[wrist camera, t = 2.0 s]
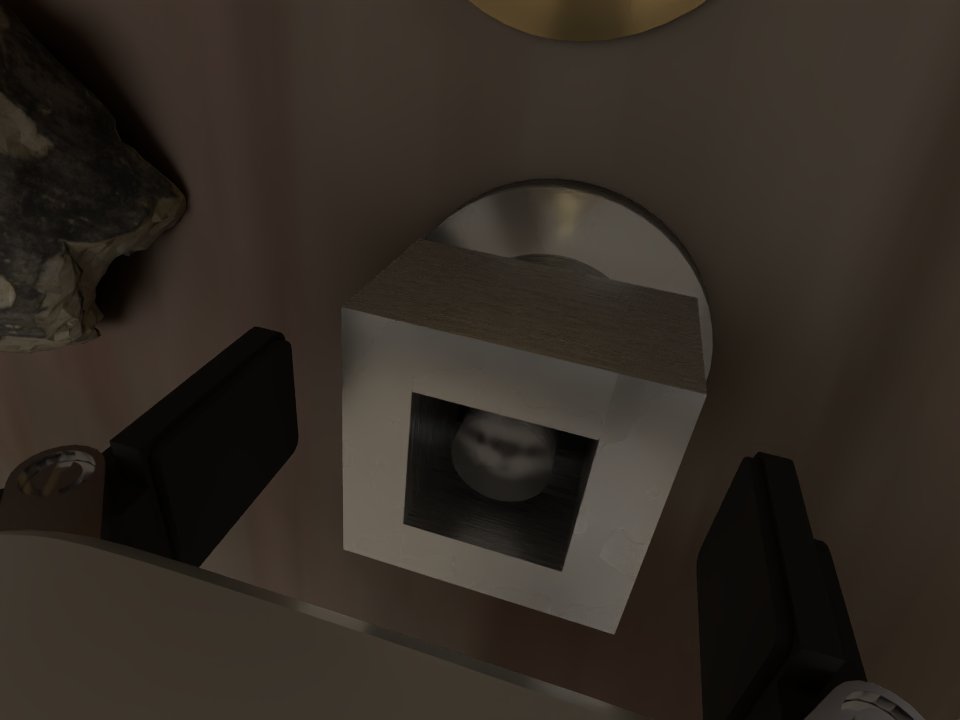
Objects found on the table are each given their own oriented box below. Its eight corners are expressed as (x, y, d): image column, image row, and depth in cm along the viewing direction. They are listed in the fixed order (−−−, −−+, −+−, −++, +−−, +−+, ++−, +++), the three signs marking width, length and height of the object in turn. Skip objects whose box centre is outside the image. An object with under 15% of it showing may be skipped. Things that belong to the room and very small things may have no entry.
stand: (564, 496, 21) (530, 655, 16) (359, 333, 20) (249, 446, 15) (785, 331, 16) (841, 483, 11) (528, 103, 15) (452, 150, 10)
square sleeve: (625, 508, 16) (614, 634, 13) (405, 447, 18) (343, 549, 14) (697, 297, 13) (706, 394, 10) (419, 238, 14) (341, 307, 11)
